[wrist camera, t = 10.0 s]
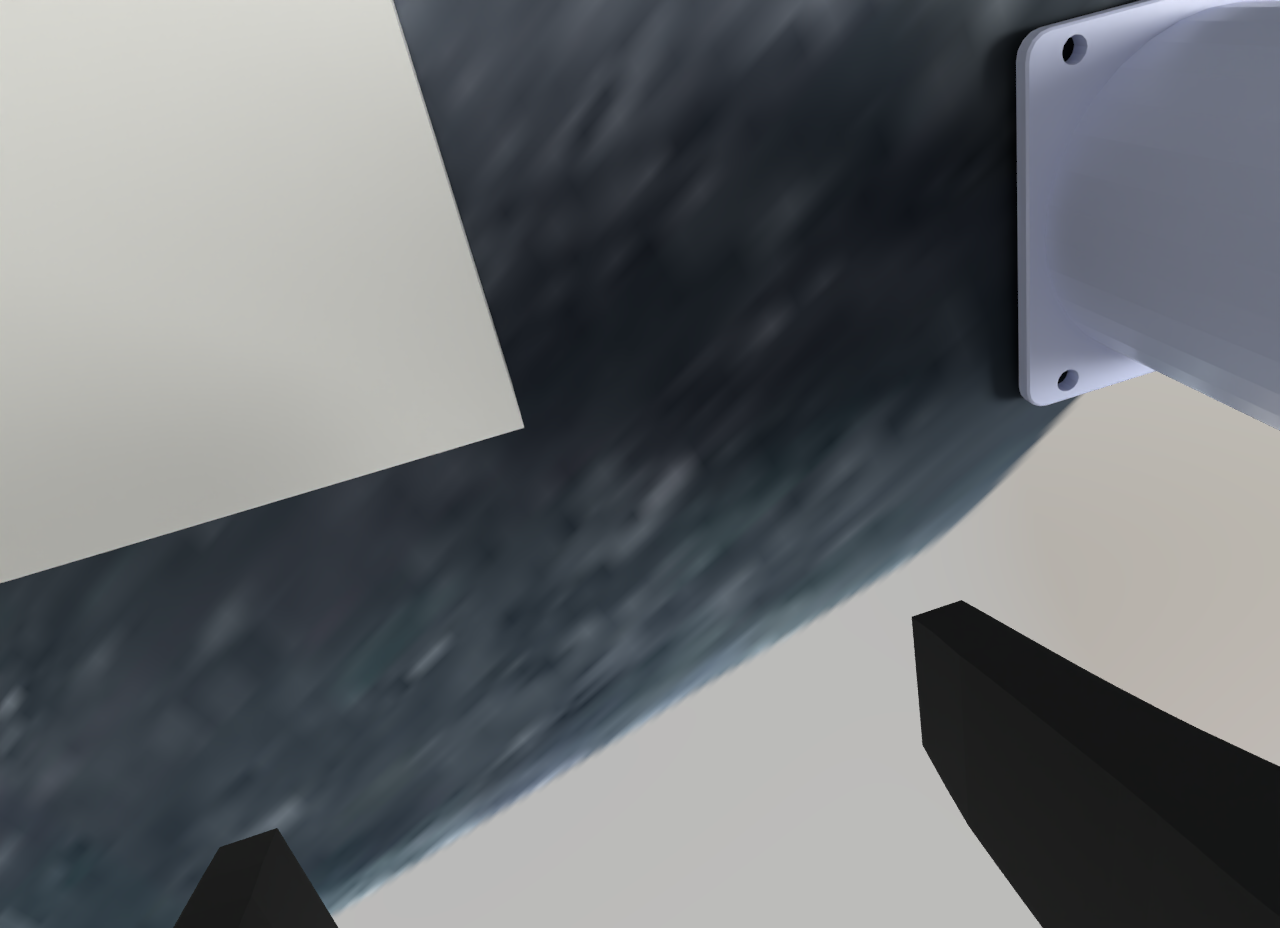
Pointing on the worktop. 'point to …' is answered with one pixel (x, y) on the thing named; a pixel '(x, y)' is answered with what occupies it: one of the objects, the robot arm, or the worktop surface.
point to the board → (221, 268)
